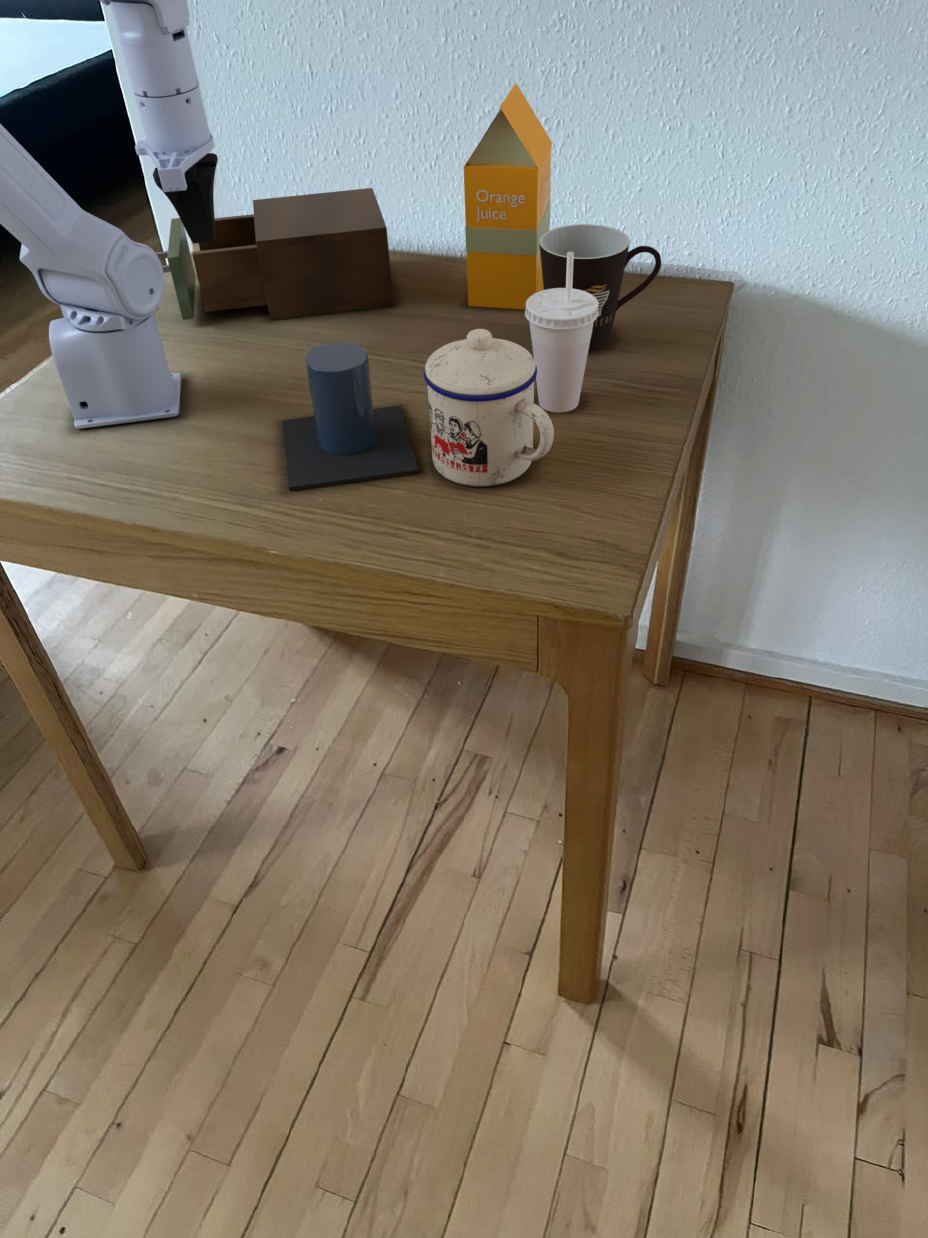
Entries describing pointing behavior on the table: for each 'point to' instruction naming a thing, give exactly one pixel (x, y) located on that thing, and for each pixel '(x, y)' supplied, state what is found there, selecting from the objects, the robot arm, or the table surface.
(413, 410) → the table surface
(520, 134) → the orange juice
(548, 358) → the smoothie
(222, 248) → the drawer
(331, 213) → the cabinet
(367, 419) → the blue-grey cylinder
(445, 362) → the teacup with lid
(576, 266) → the coffee mug
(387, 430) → the mat
